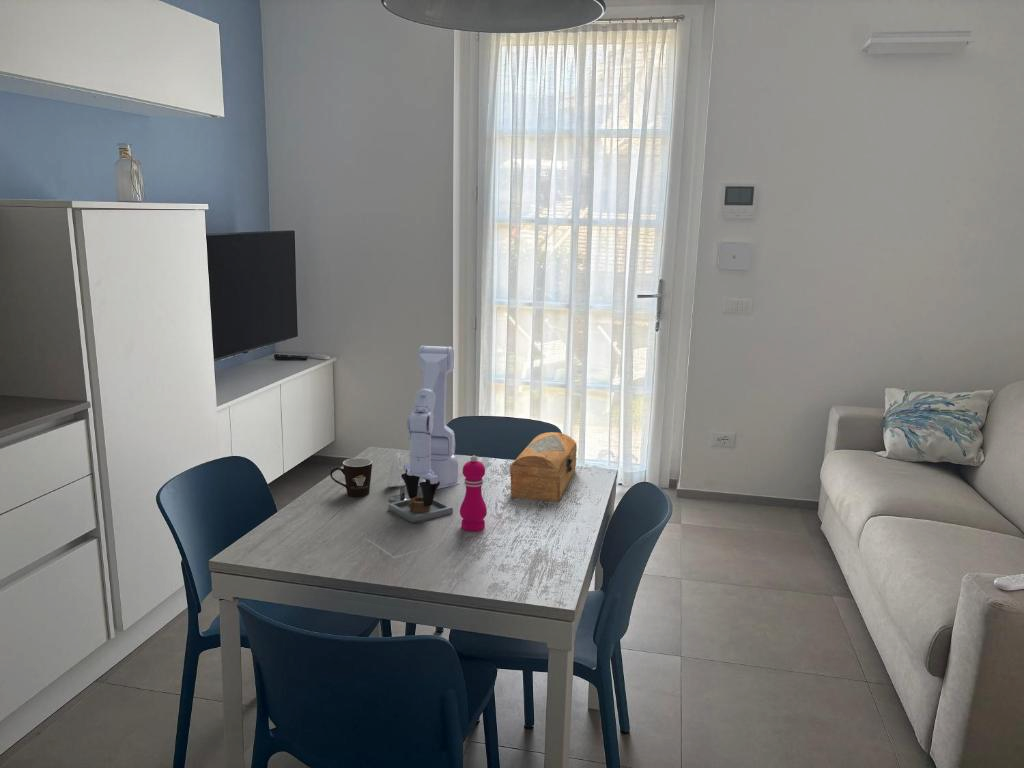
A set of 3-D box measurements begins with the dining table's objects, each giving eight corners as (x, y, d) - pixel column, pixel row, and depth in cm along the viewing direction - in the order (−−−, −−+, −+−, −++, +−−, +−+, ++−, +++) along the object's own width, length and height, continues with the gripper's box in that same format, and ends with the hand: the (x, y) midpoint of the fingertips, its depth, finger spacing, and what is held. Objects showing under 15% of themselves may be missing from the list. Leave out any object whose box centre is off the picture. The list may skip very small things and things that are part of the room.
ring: (403, 509, 222) (403, 499, 221) (426, 504, 226) (426, 494, 226) (414, 515, 217) (414, 505, 217) (436, 509, 222) (437, 499, 222)
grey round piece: (406, 493, 236) (406, 479, 236) (421, 501, 230) (421, 486, 230) (383, 499, 231) (383, 484, 231) (398, 506, 225) (397, 491, 224)
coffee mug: (376, 490, 239) (375, 458, 237) (368, 500, 230) (367, 467, 228) (338, 488, 240) (338, 456, 238) (329, 497, 231) (328, 465, 229)
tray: (426, 500, 231) (426, 494, 231) (452, 513, 221) (452, 507, 221) (388, 509, 223) (388, 503, 222) (413, 523, 213) (413, 517, 213)
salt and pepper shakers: (388, 491, 238) (387, 456, 236) (384, 487, 242) (383, 452, 240) (425, 486, 243) (425, 451, 241) (421, 482, 247) (421, 448, 245)
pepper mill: (490, 524, 214) (491, 453, 210) (480, 534, 207) (481, 460, 203) (465, 520, 216) (466, 450, 212) (455, 530, 209) (456, 457, 206)
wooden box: (562, 504, 231) (563, 458, 228) (507, 498, 235) (508, 453, 233) (580, 474, 260) (582, 433, 257) (531, 469, 264) (532, 428, 261)
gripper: (394, 451, 222) (394, 497, 224) (422, 463, 211) (422, 512, 213) (415, 447, 226) (415, 492, 229) (444, 459, 215) (444, 506, 218)
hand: (420, 501), depth 221 cm, fingers open, 7 cm apart
